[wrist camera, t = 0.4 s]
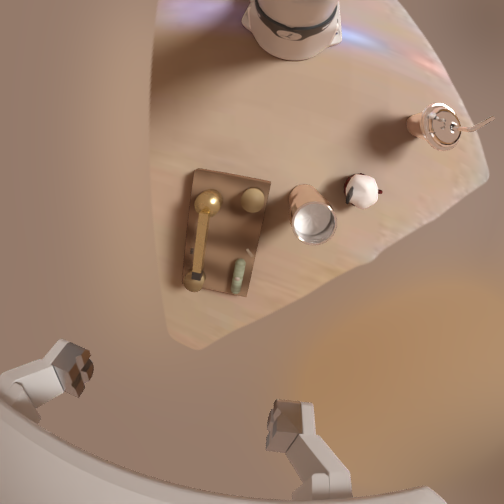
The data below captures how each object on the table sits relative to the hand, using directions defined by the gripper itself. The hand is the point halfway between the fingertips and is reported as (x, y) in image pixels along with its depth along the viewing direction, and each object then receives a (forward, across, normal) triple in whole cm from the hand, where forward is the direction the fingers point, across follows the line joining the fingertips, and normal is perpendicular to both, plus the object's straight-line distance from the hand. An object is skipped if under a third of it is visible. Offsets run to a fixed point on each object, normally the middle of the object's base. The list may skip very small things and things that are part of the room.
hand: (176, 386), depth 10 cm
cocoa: (+46, -19, -4) cm, 50 cm away
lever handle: (+43, +7, +10) cm, 45 cm away
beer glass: (+46, -10, +1) cm, 48 cm away
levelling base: (+46, +4, +11) cm, 48 cm away
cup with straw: (+46, -29, -20) cm, 58 cm away
